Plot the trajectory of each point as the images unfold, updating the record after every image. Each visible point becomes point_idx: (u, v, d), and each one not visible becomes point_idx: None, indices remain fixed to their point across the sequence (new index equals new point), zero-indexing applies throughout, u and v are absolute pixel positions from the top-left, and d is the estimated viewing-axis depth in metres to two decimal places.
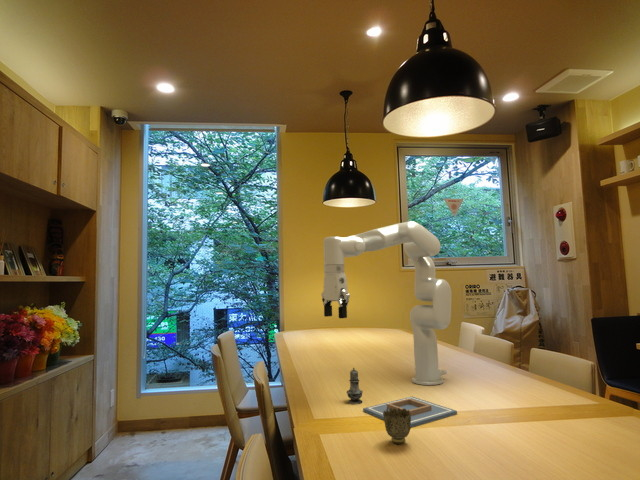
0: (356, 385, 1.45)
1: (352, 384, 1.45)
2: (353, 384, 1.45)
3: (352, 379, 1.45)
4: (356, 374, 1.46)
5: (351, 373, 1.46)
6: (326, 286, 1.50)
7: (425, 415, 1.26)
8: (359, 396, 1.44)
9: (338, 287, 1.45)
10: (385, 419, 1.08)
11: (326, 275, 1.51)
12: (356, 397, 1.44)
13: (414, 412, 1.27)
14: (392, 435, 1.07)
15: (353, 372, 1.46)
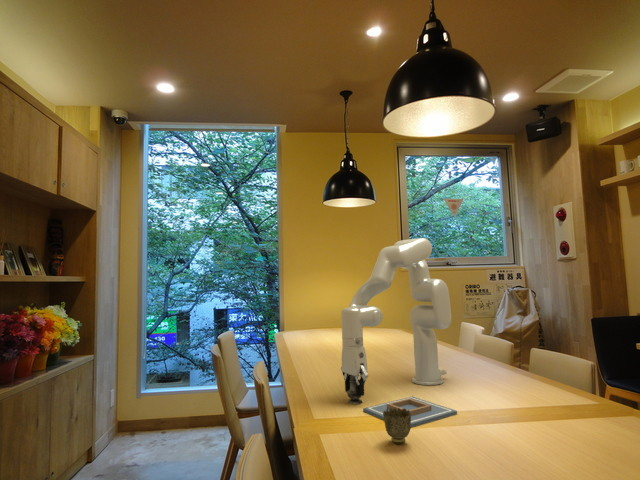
0: None
1: (352, 384, 1.45)
2: (353, 384, 1.45)
3: (352, 379, 1.45)
4: None
5: None
6: (345, 359, 1.47)
7: (425, 415, 1.26)
8: (359, 396, 1.44)
9: (358, 362, 1.42)
10: (385, 419, 1.08)
11: (344, 347, 1.48)
12: (356, 397, 1.44)
13: (414, 412, 1.27)
14: (392, 435, 1.07)
15: None
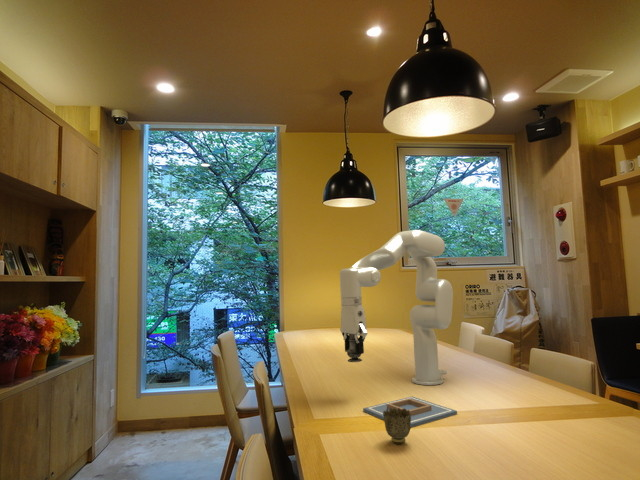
0: None
1: (351, 343, 1.47)
2: (353, 343, 1.47)
3: (351, 338, 1.47)
4: None
5: None
6: (344, 319, 1.49)
7: (425, 415, 1.26)
8: (358, 354, 1.46)
9: (357, 321, 1.44)
10: (385, 419, 1.08)
11: (343, 307, 1.49)
12: (356, 355, 1.45)
13: (414, 412, 1.27)
14: (392, 435, 1.07)
15: None
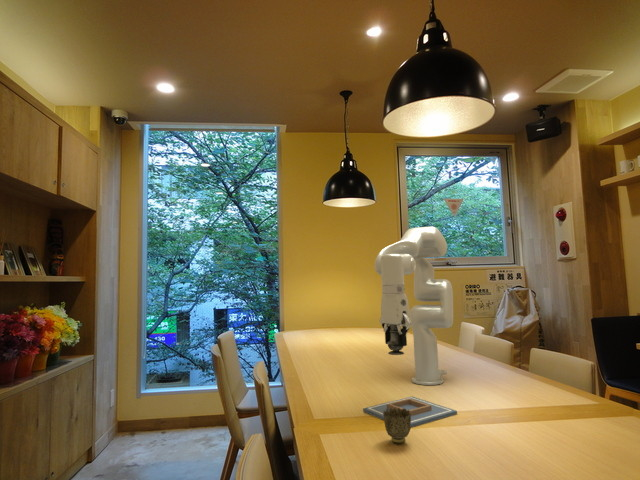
0: (397, 335, 1.36)
1: (393, 334, 1.36)
2: (394, 334, 1.36)
3: (393, 329, 1.36)
4: None
5: None
6: (385, 308, 1.38)
7: (425, 415, 1.26)
8: (401, 347, 1.35)
9: (400, 310, 1.33)
10: (385, 419, 1.08)
11: (384, 296, 1.38)
12: (398, 347, 1.34)
13: (414, 412, 1.27)
14: (392, 435, 1.07)
15: None
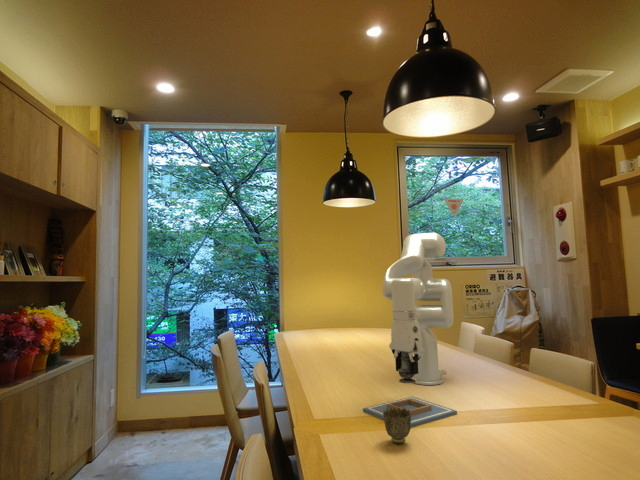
0: None
1: (404, 361, 1.33)
2: (406, 362, 1.32)
3: (404, 356, 1.33)
4: None
5: None
6: (395, 334, 1.35)
7: (425, 415, 1.26)
8: None
9: (412, 337, 1.30)
10: (385, 419, 1.08)
11: (395, 322, 1.35)
12: (409, 375, 1.31)
13: (414, 412, 1.27)
14: (392, 435, 1.07)
15: None
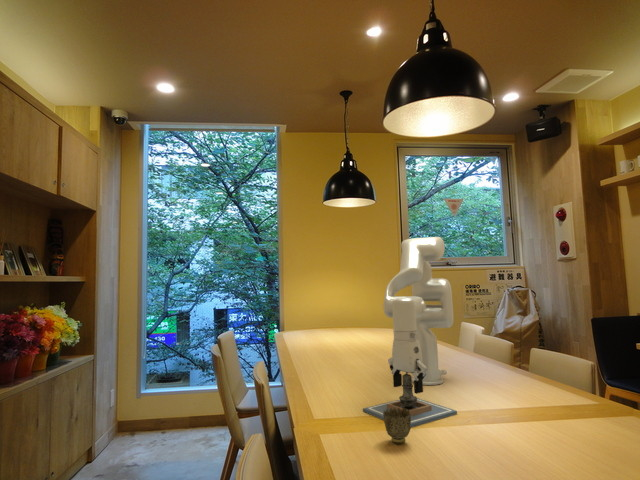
0: (410, 391, 1.32)
1: (406, 390, 1.32)
2: (407, 390, 1.32)
3: (405, 384, 1.32)
4: (410, 379, 1.33)
5: (404, 377, 1.33)
6: (396, 354, 1.34)
7: (425, 415, 1.26)
8: (414, 403, 1.31)
9: (413, 358, 1.29)
10: (385, 419, 1.08)
11: (396, 342, 1.35)
12: (411, 404, 1.30)
13: (414, 412, 1.27)
14: (392, 435, 1.07)
15: (406, 376, 1.33)
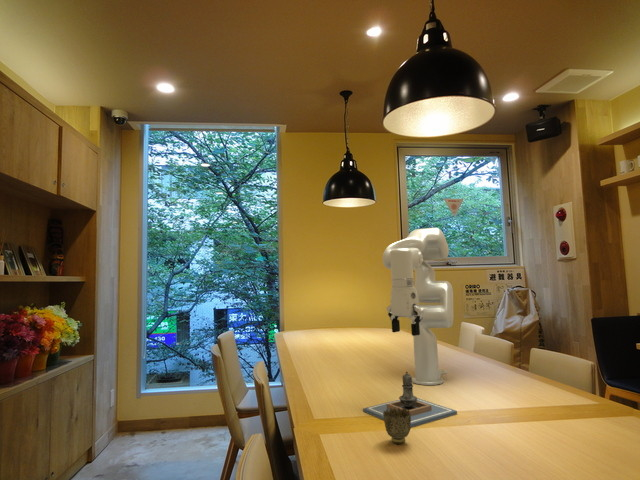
0: (410, 391, 1.32)
1: (406, 390, 1.32)
2: (407, 390, 1.32)
3: (406, 384, 1.32)
4: (410, 379, 1.32)
5: (404, 378, 1.33)
6: (395, 301, 1.42)
7: (425, 415, 1.26)
8: (414, 403, 1.31)
9: (410, 303, 1.37)
10: (385, 419, 1.08)
11: (394, 289, 1.42)
12: (411, 404, 1.30)
13: (414, 412, 1.27)
14: (392, 435, 1.07)
15: (407, 376, 1.32)
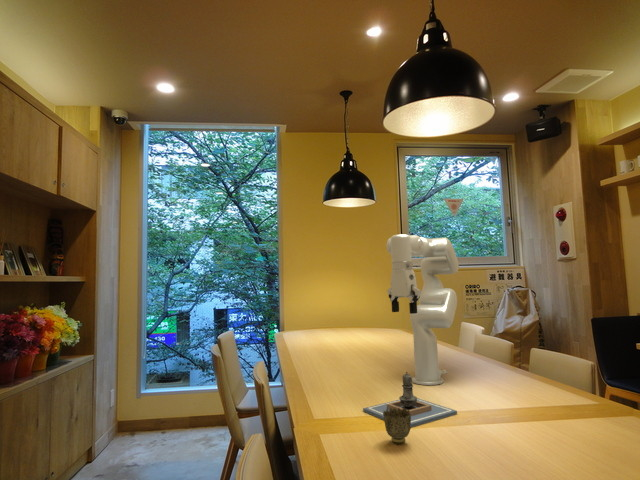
0: (410, 391, 1.32)
1: (406, 390, 1.32)
2: (407, 390, 1.32)
3: (406, 384, 1.32)
4: (410, 379, 1.32)
5: (404, 378, 1.33)
6: (394, 283, 1.55)
7: (425, 415, 1.26)
8: (414, 403, 1.31)
9: (408, 283, 1.50)
10: (385, 419, 1.08)
11: (394, 272, 1.55)
12: (411, 404, 1.30)
13: (414, 412, 1.27)
14: (392, 435, 1.07)
15: (407, 376, 1.32)
